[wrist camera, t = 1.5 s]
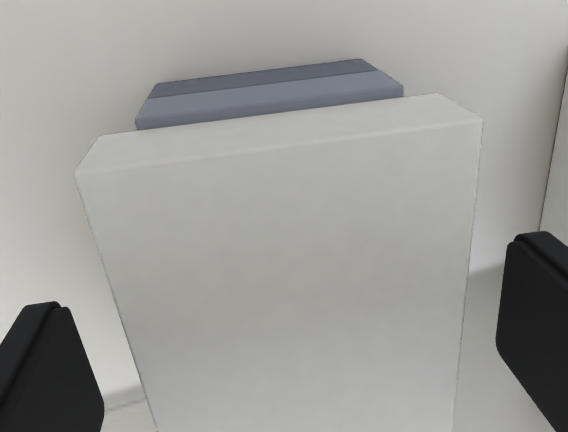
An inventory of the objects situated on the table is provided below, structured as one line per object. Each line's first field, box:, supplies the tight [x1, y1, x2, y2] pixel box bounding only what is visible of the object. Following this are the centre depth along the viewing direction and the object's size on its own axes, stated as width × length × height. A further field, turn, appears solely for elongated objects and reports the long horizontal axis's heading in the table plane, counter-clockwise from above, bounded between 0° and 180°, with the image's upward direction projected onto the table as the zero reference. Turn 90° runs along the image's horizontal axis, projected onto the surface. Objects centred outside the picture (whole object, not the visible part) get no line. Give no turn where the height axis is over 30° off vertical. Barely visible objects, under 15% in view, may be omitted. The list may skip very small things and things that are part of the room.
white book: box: [74, 93, 483, 432], centre depth 10 cm, size 8×6×2 cm
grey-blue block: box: [135, 59, 403, 131], centre depth 12 cm, size 8×5×3 cm, turn 5°
